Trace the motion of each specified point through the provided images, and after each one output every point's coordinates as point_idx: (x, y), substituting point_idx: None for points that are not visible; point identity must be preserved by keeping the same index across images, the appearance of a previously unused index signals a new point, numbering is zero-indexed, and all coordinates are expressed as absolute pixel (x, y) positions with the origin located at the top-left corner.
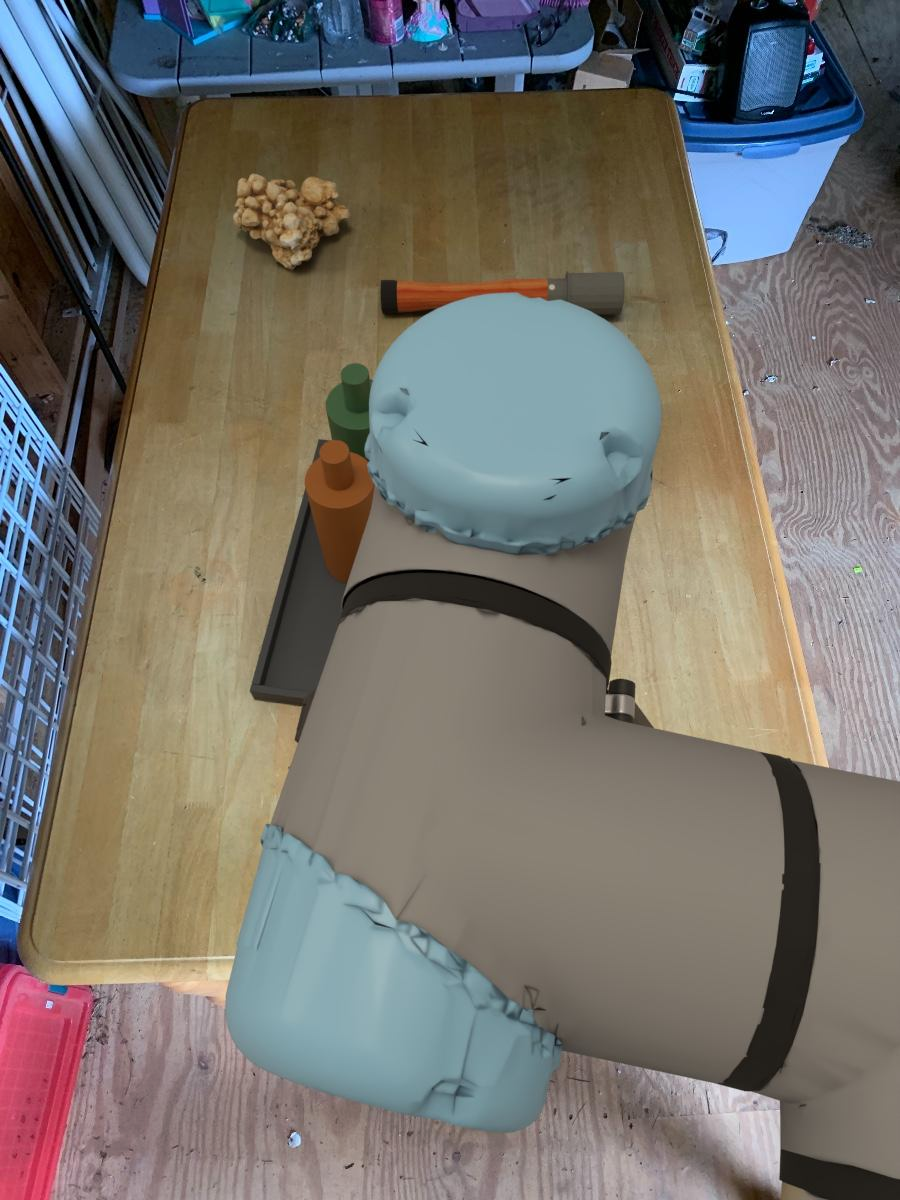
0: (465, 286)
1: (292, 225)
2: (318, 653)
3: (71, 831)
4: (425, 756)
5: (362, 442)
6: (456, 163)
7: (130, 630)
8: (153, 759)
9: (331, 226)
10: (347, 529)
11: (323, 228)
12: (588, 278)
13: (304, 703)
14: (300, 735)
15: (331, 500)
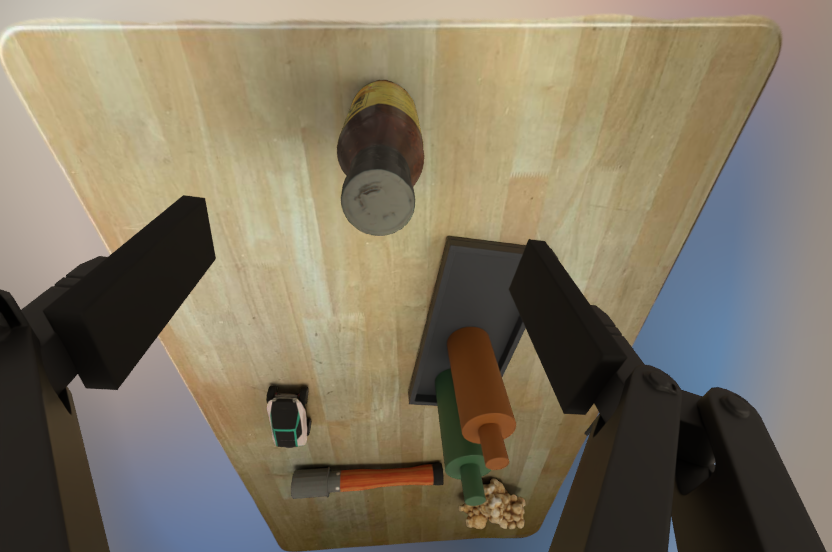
0: (391, 484)
1: (494, 511)
2: (500, 282)
3: (716, 147)
4: None
5: (467, 440)
6: (396, 522)
7: (631, 293)
8: (636, 204)
9: None
10: (482, 387)
11: None
12: (314, 495)
13: (714, 467)
14: (770, 443)
15: (497, 417)
